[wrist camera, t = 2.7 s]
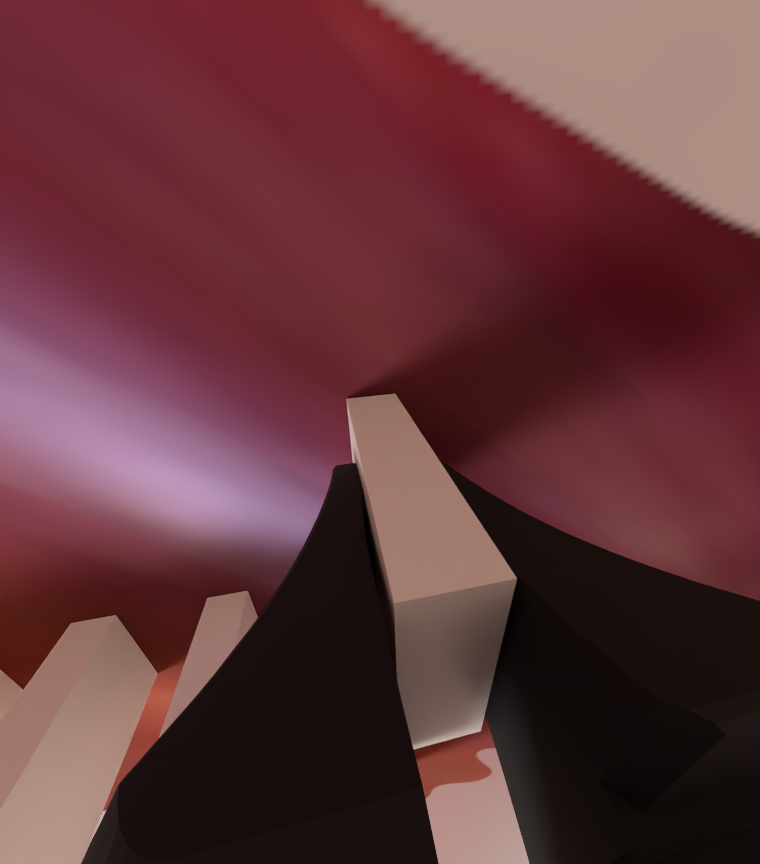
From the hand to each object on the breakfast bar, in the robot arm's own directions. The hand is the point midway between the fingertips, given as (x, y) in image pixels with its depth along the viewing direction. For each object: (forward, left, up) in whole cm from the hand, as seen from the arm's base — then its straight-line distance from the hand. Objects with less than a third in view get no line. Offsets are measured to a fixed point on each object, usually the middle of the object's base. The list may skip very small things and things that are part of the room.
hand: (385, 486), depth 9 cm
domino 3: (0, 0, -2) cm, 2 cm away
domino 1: (-8, +12, -2) cm, 14 cm away
